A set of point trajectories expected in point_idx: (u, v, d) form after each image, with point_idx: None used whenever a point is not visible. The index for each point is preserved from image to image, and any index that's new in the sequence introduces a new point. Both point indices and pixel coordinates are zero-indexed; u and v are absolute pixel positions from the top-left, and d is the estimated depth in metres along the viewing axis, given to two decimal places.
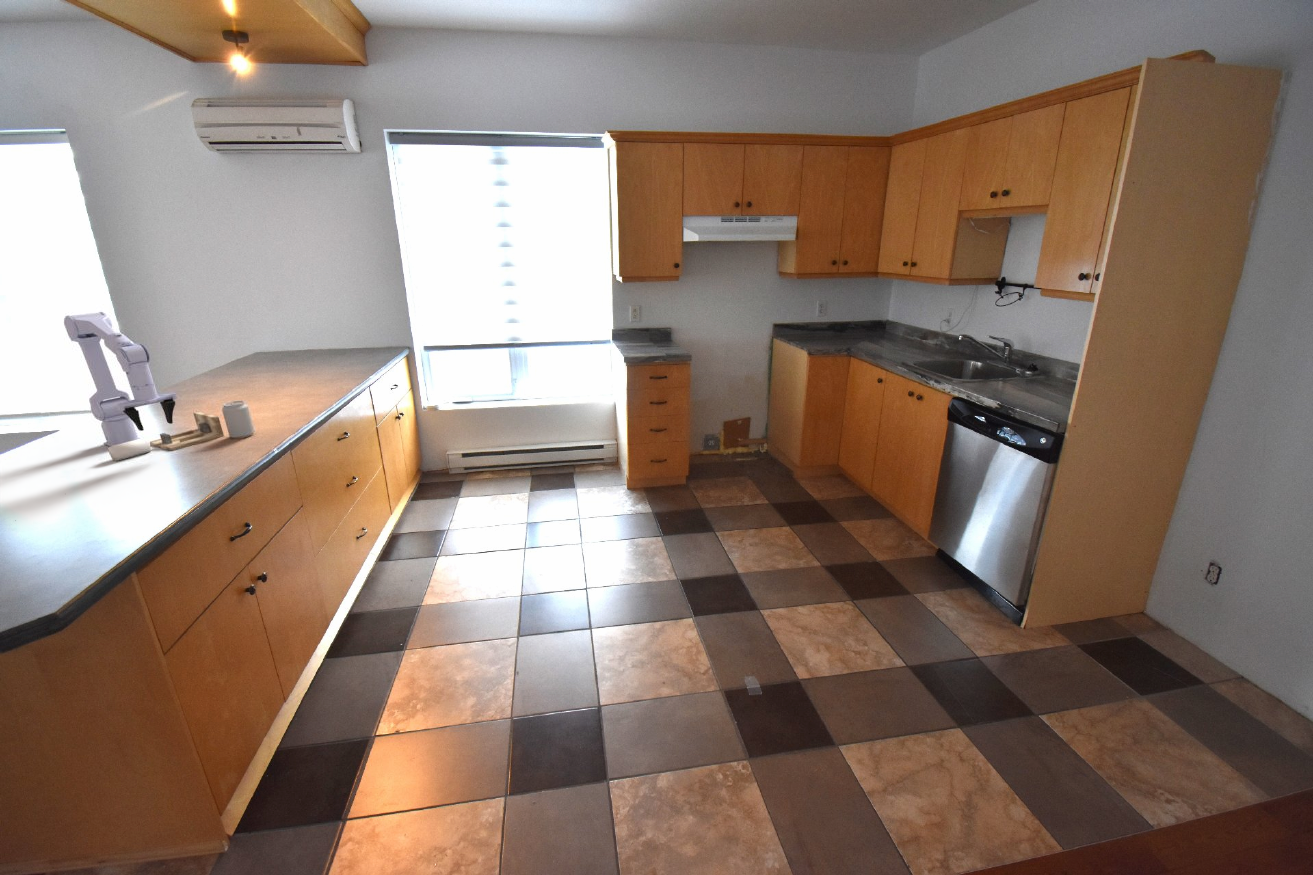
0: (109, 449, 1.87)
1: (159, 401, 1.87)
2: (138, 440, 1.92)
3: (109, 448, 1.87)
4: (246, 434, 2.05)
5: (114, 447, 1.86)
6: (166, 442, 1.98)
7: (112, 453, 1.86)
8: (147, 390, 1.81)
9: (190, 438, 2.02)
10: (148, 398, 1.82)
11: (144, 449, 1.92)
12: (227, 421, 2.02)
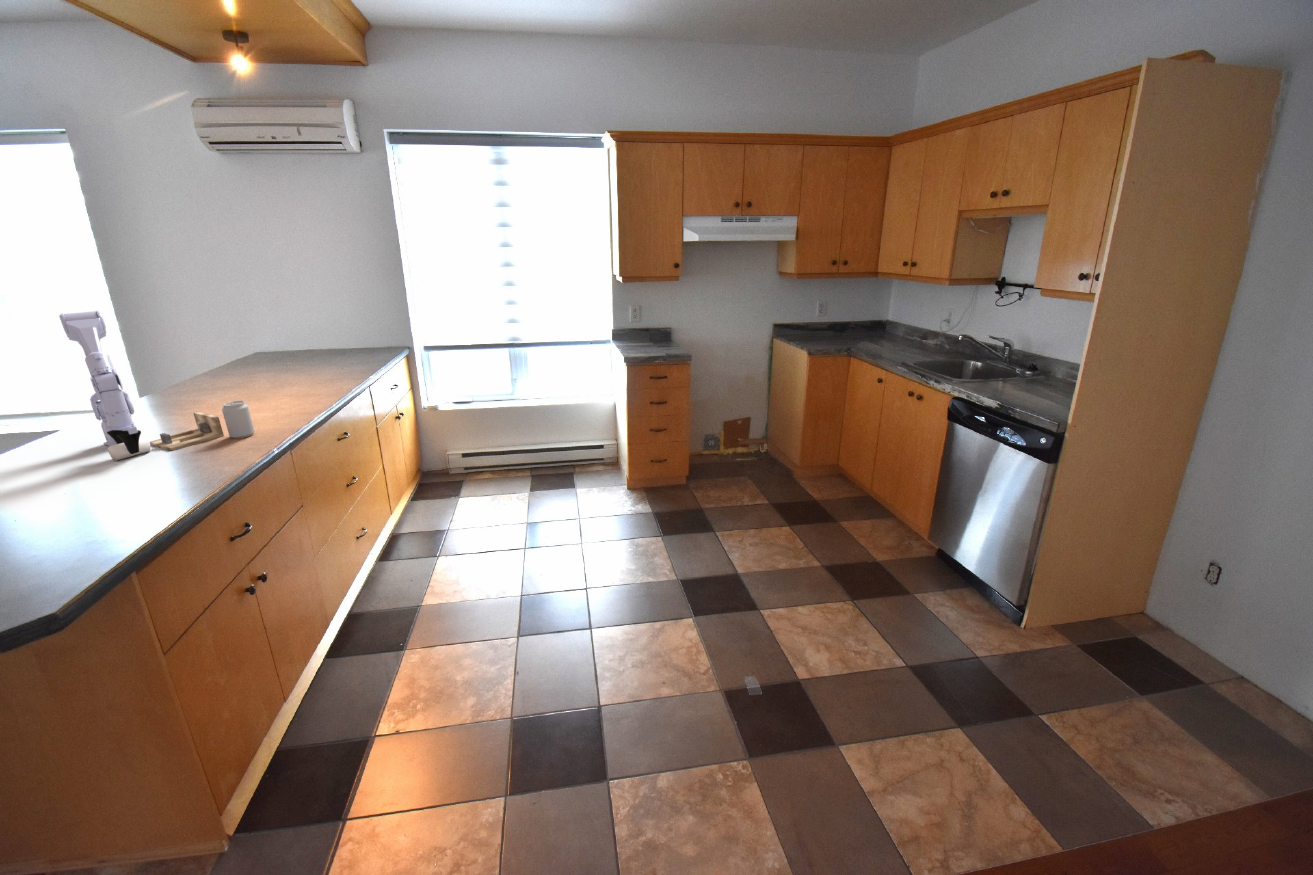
0: (109, 449, 1.87)
1: None
2: None
3: (109, 448, 1.87)
4: (246, 434, 2.05)
5: (114, 447, 1.86)
6: (166, 442, 1.98)
7: (112, 452, 1.86)
8: (106, 417, 1.84)
9: (190, 438, 2.02)
10: (109, 425, 1.85)
11: (144, 448, 1.92)
12: (227, 421, 2.02)
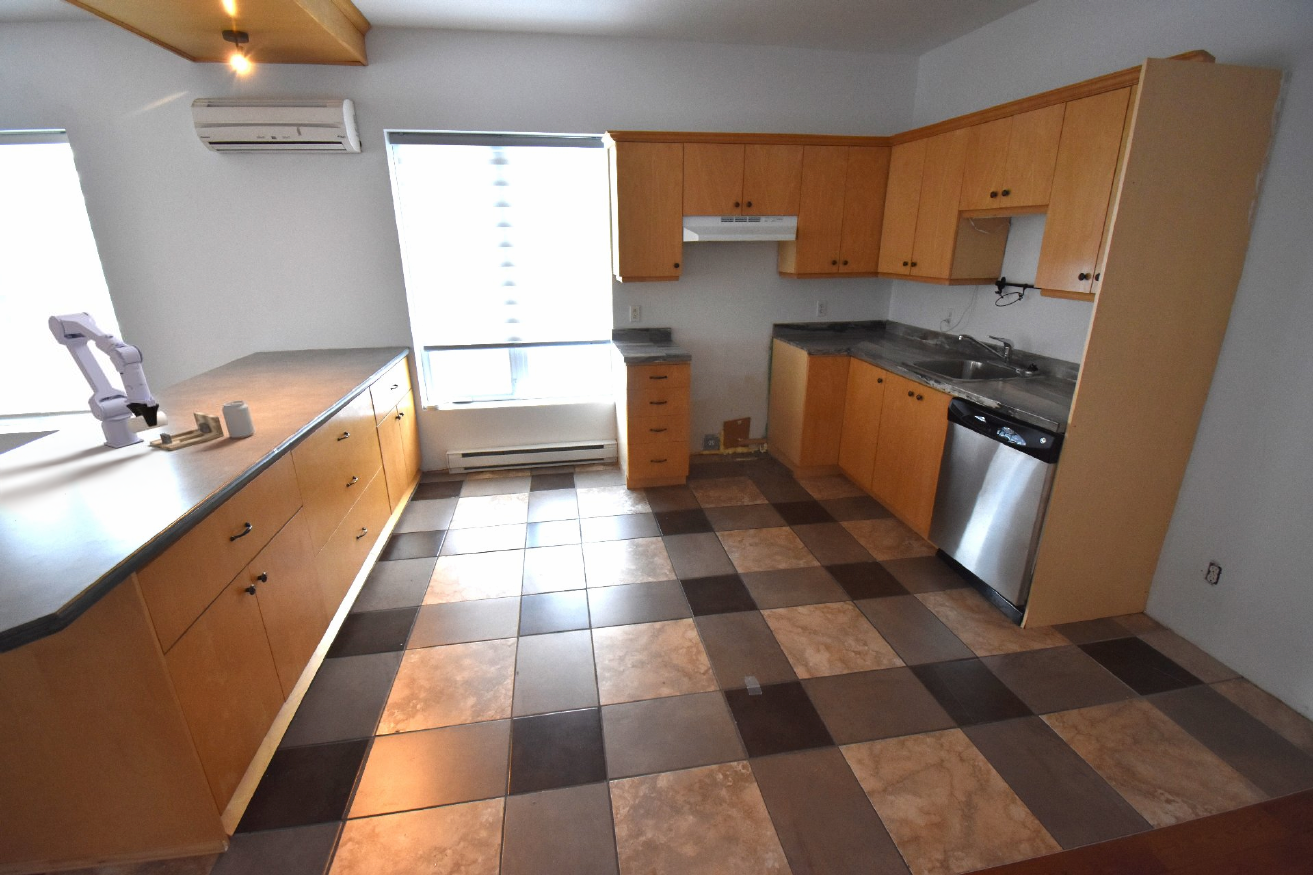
0: (128, 421, 1.90)
1: None
2: None
3: (127, 421, 1.90)
4: (246, 434, 2.05)
5: (132, 419, 1.89)
6: (166, 442, 1.98)
7: (131, 425, 1.90)
8: (125, 390, 1.88)
9: (190, 438, 2.02)
10: (128, 398, 1.89)
11: (162, 422, 1.95)
12: (227, 421, 2.02)
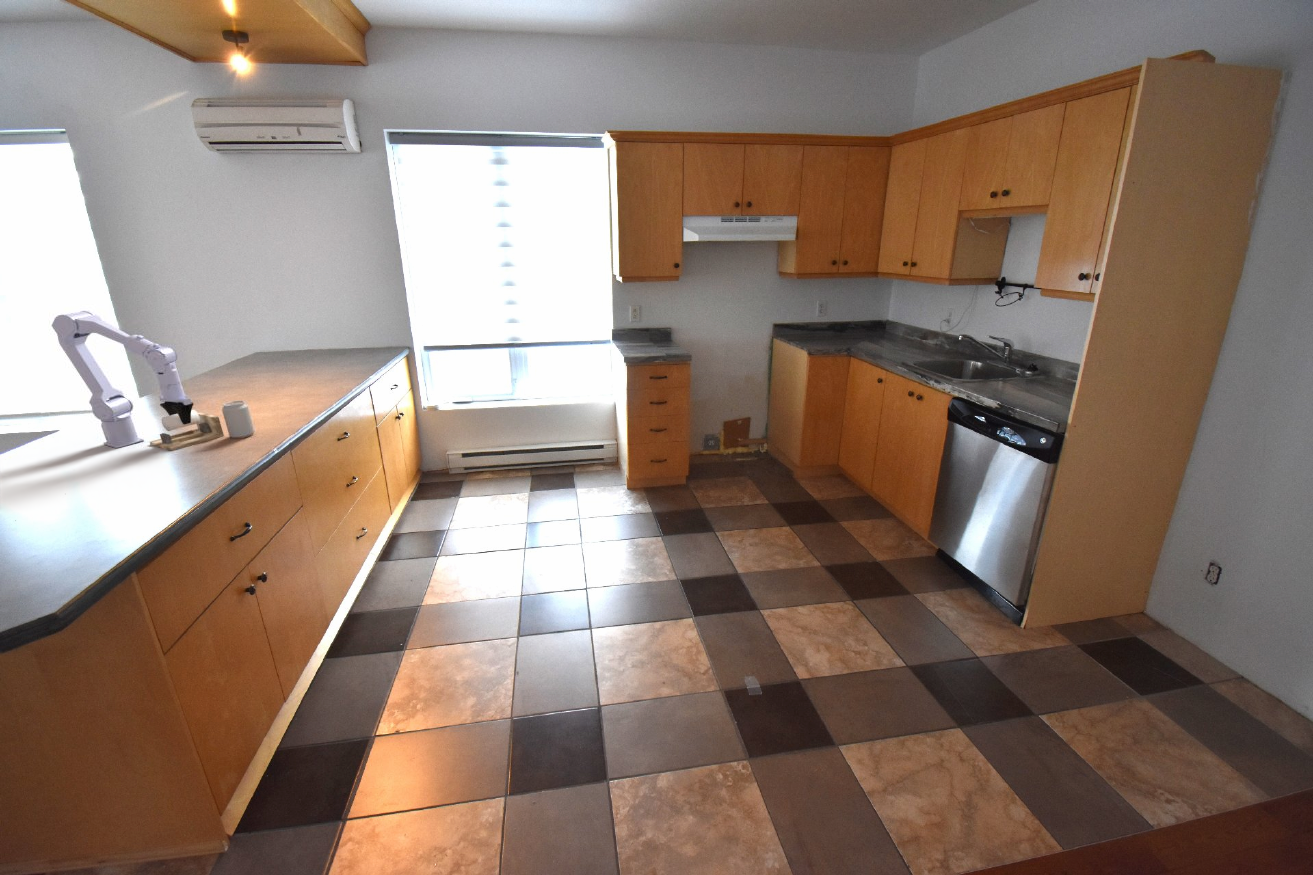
0: (163, 420, 1.98)
1: None
2: None
3: (162, 419, 1.98)
4: (246, 434, 2.05)
5: (168, 417, 1.97)
6: (166, 442, 1.98)
7: (166, 423, 1.98)
8: (161, 389, 1.96)
9: (190, 438, 2.02)
10: (163, 397, 1.97)
11: (195, 420, 2.04)
12: (227, 421, 2.02)
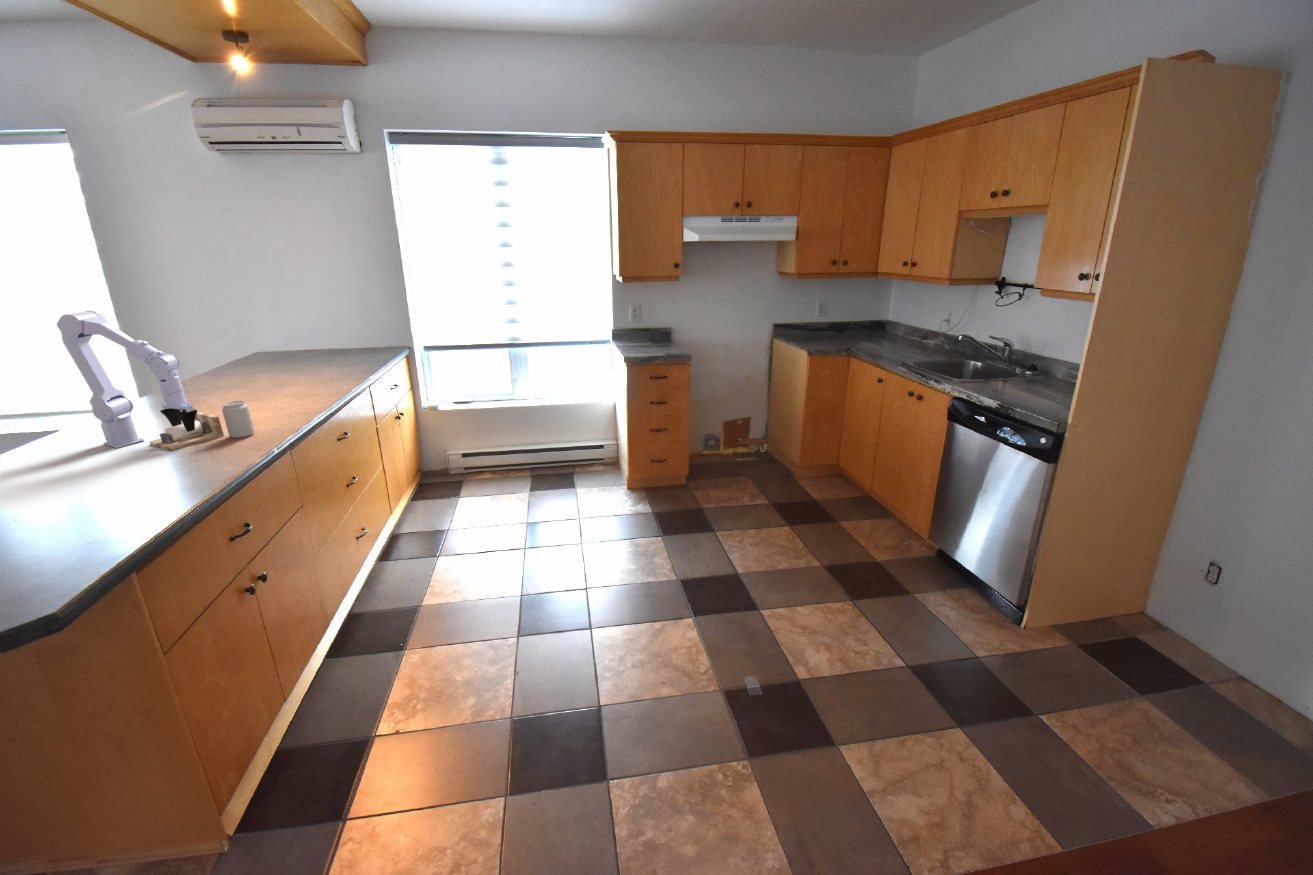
0: (166, 431, 1.99)
1: (181, 409, 1.99)
2: None
3: (166, 430, 1.99)
4: (246, 434, 2.05)
5: (171, 428, 1.99)
6: (166, 442, 1.98)
7: (169, 434, 1.99)
8: (163, 397, 1.97)
9: (190, 438, 2.02)
10: (165, 404, 1.98)
11: (198, 430, 2.05)
12: (227, 421, 2.02)
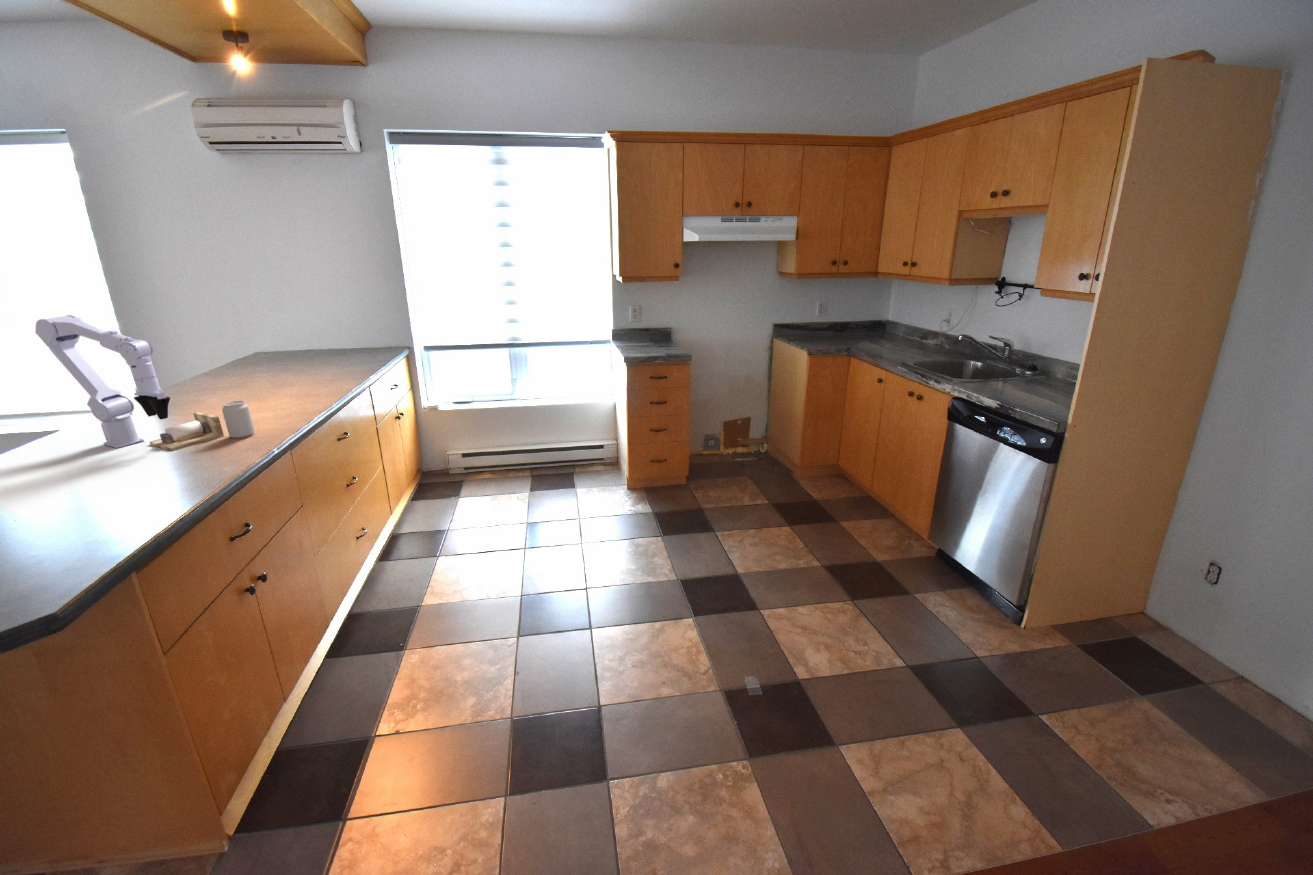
0: (166, 431, 1.99)
1: (154, 396, 1.94)
2: (192, 422, 2.04)
3: (166, 430, 1.99)
4: (246, 434, 2.05)
5: (171, 428, 1.99)
6: (166, 442, 1.98)
7: (170, 434, 1.99)
8: (135, 383, 1.92)
9: (190, 438, 2.02)
10: (138, 391, 1.93)
11: (198, 430, 2.05)
12: (227, 421, 2.02)
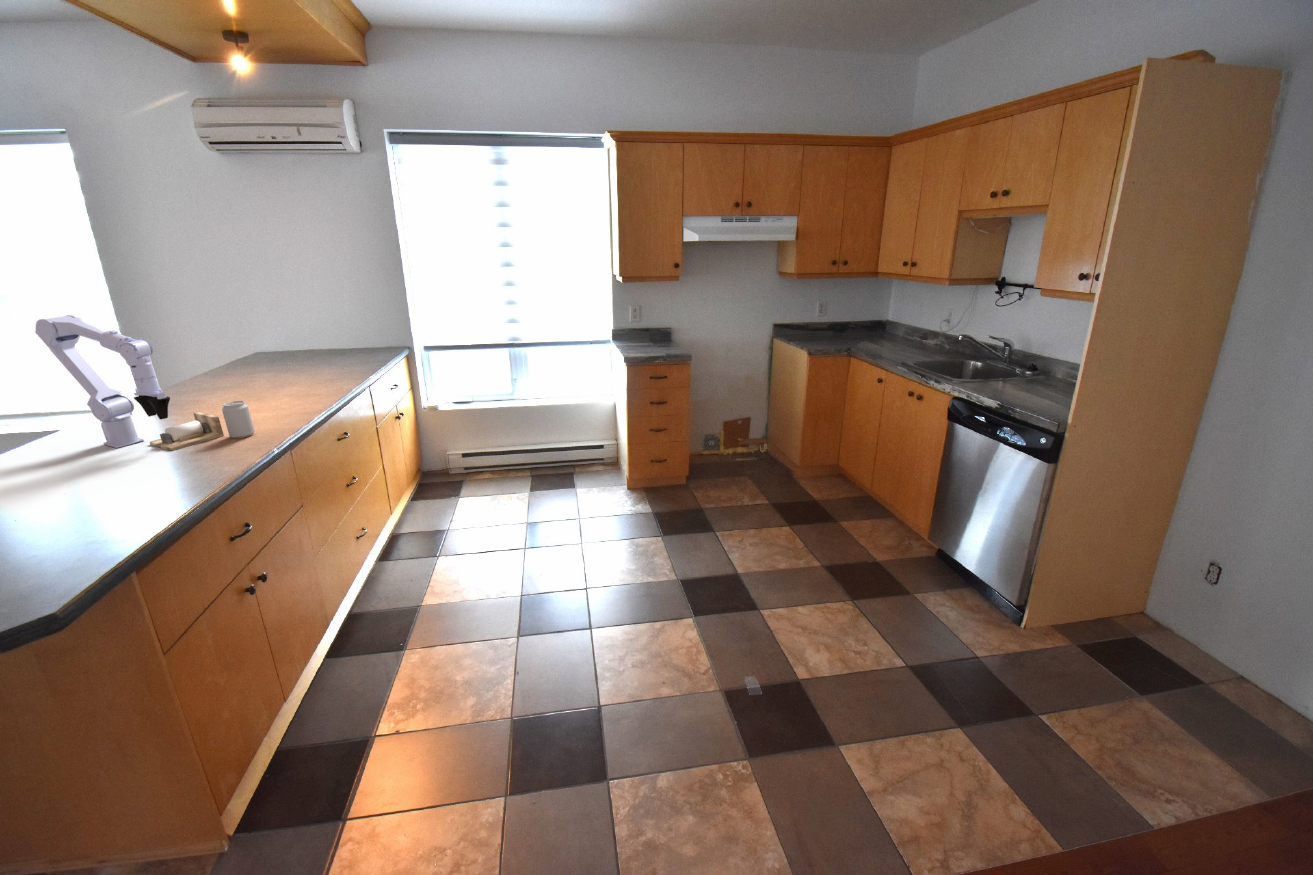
0: (166, 431, 1.99)
1: (154, 396, 1.94)
2: (191, 422, 2.04)
3: (166, 430, 1.99)
4: (246, 434, 2.05)
5: (171, 428, 1.99)
6: (166, 442, 1.98)
7: (169, 434, 1.99)
8: (135, 383, 1.92)
9: (190, 438, 2.02)
10: (138, 391, 1.93)
11: (198, 430, 2.05)
12: (227, 421, 2.02)
